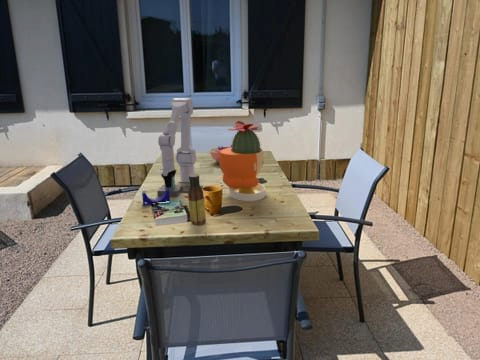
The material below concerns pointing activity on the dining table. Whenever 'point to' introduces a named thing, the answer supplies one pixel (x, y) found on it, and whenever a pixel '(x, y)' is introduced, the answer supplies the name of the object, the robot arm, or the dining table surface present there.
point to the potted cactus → (243, 164)
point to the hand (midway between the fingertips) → (170, 186)
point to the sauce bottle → (196, 201)
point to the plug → (171, 184)
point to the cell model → (217, 152)
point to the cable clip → (161, 199)
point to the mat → (188, 189)
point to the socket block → (170, 190)
